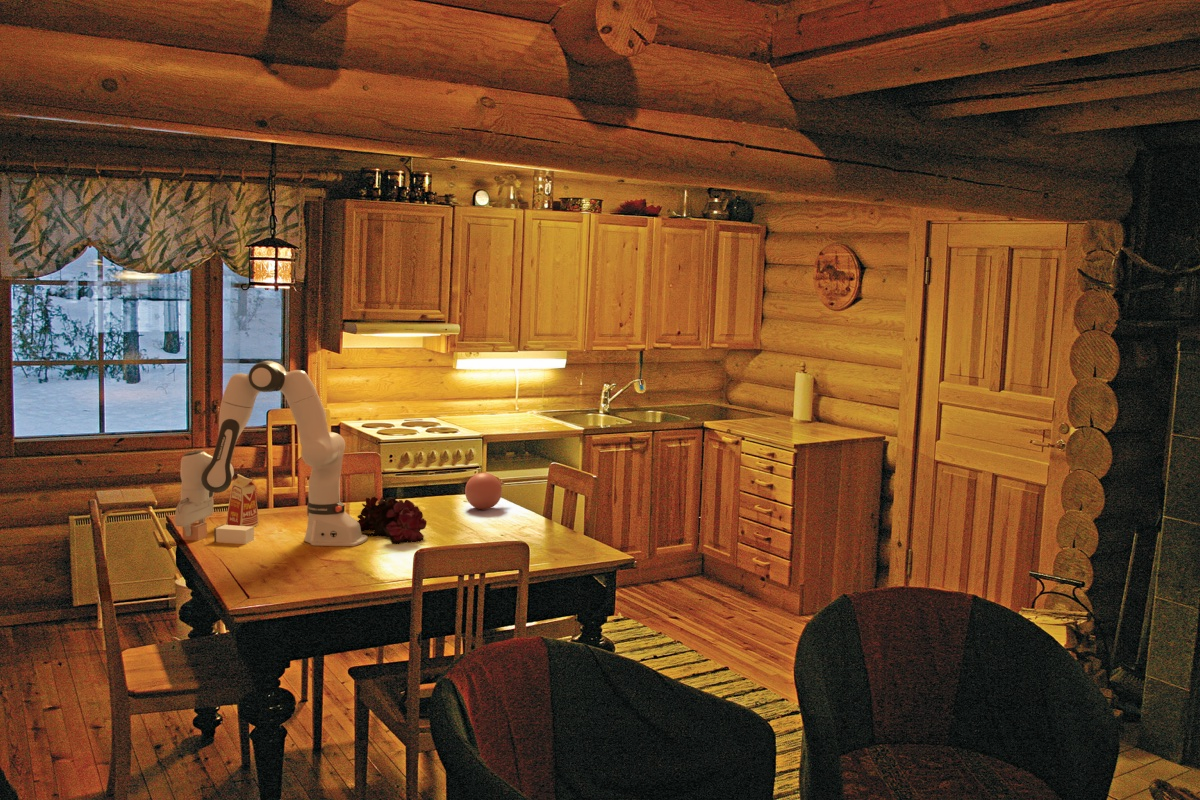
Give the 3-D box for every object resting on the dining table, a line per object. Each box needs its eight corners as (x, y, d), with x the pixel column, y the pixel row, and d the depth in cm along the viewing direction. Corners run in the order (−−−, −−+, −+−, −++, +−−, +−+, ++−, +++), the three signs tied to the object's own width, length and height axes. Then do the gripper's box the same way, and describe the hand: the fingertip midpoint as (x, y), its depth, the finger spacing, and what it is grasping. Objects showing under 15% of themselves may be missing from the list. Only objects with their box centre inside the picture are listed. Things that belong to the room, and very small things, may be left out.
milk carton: (225, 527, 406) (224, 475, 404) (244, 522, 415) (243, 471, 412) (243, 530, 402) (242, 477, 400) (261, 525, 410) (260, 474, 408)
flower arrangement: (346, 533, 402) (346, 494, 400) (386, 524, 418) (386, 487, 416) (401, 547, 383) (401, 506, 381) (442, 538, 398) (442, 498, 397)
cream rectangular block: (253, 540, 385) (253, 526, 385) (245, 544, 379) (245, 530, 379) (222, 538, 387) (222, 524, 387) (214, 542, 381) (214, 528, 381)
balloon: (517, 507, 453) (517, 472, 451) (482, 514, 438) (482, 477, 436) (492, 502, 463) (492, 467, 461) (457, 508, 448) (457, 472, 446)
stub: (206, 536, 388) (206, 523, 388) (198, 540, 382) (197, 526, 382) (191, 535, 389) (191, 522, 389) (182, 539, 383) (182, 525, 383)
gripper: (186, 501, 373) (187, 540, 375) (216, 490, 393) (217, 527, 395) (169, 500, 374) (170, 539, 376) (200, 489, 394) (201, 526, 396)
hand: (194, 533), depth 386 cm, fingers closed on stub, 6 cm apart
